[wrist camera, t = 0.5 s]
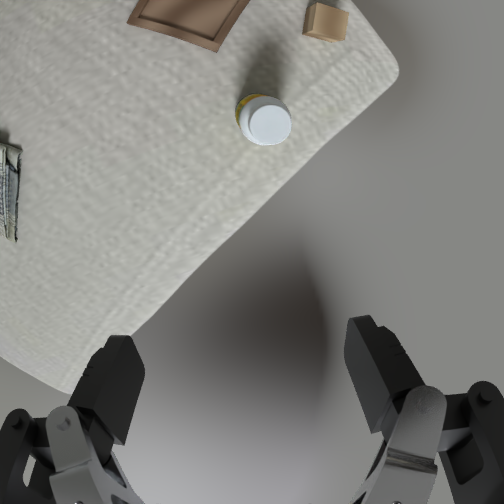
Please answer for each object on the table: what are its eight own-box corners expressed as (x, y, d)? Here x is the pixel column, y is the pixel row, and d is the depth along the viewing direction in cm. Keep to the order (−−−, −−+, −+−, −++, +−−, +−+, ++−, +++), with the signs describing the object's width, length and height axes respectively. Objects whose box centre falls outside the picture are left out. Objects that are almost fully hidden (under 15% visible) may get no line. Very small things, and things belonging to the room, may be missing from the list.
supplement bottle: (280, 129, 33) (302, 147, 25) (238, 137, 33) (247, 157, 25) (273, 90, 30) (295, 94, 22) (230, 97, 30) (237, 103, 22)
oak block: (301, 34, 26) (312, 30, 22) (306, 9, 23) (317, 2, 20) (331, 42, 26) (344, 39, 23) (335, 17, 24) (348, 12, 21)
